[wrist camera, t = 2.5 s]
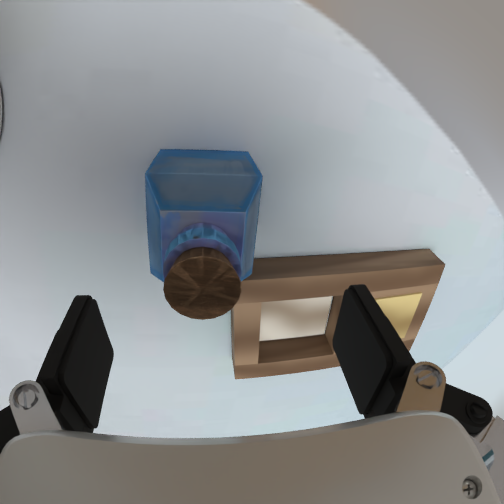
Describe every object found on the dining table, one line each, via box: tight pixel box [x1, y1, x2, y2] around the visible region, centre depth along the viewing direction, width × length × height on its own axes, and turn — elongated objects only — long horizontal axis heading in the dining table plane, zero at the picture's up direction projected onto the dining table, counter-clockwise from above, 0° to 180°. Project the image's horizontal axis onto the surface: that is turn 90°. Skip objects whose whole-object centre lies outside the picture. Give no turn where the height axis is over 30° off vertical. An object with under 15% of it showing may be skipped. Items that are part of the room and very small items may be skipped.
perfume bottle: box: [145, 149, 263, 320], centre depth 18 cm, size 6×6×12 cm
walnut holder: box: [231, 249, 445, 379], centre depth 29 cm, size 12×20×3 cm, turn 89°
